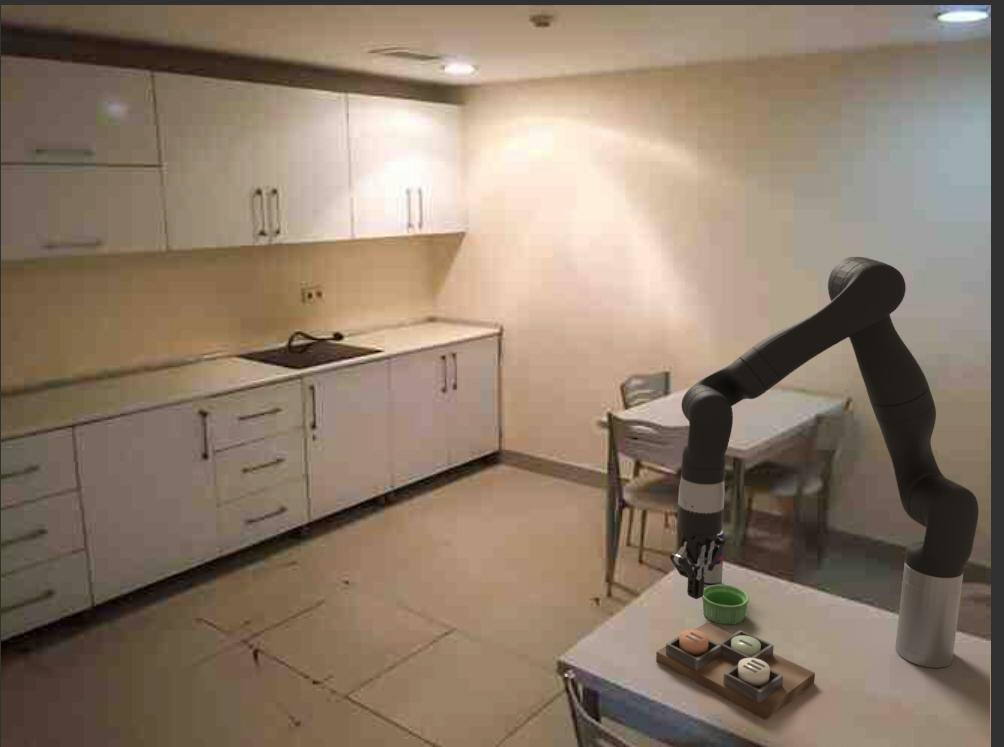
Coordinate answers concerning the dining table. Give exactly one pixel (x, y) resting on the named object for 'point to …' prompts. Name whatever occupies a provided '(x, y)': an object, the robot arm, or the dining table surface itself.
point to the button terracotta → (693, 642)
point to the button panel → (722, 672)
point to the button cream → (753, 671)
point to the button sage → (746, 645)
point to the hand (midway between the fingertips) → (695, 596)
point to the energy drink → (715, 569)
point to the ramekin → (724, 604)
